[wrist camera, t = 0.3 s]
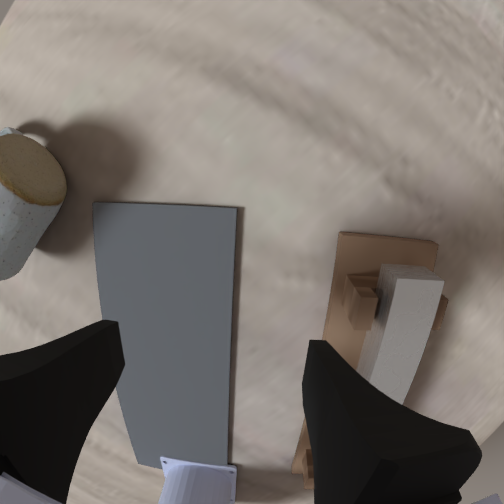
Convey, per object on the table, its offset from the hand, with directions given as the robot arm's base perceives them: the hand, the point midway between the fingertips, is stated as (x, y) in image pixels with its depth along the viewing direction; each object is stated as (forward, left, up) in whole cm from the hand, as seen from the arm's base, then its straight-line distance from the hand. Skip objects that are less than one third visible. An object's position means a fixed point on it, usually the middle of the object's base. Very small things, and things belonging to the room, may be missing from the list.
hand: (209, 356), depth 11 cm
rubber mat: (-10, +5, -10) cm, 15 cm away
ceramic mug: (+5, +17, -10) cm, 21 cm away
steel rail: (-9, -10, -7) cm, 15 cm away
